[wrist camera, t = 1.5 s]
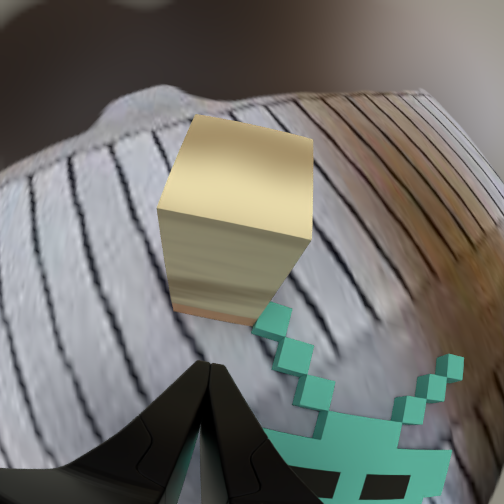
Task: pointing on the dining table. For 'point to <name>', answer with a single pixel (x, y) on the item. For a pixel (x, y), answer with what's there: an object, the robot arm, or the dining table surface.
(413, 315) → the dining table surface
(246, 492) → the robot arm
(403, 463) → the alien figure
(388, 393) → the dining table surface
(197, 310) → the maple block
